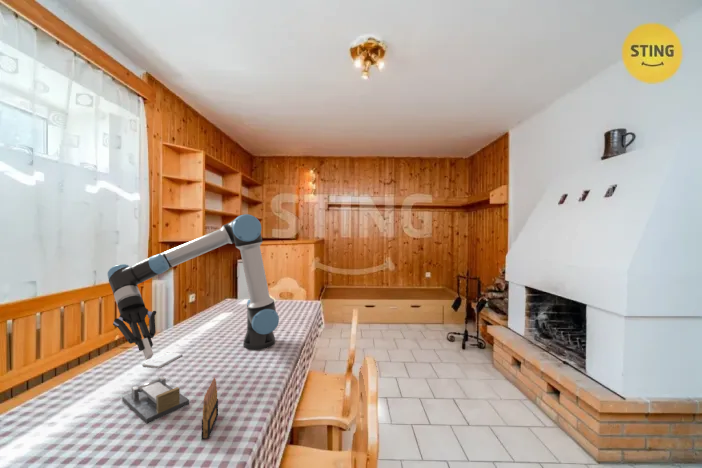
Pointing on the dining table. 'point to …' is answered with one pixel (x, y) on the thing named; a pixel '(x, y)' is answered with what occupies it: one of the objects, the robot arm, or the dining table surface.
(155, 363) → the external hard drive
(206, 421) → the ammunition clip
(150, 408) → the latch board
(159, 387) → the strap
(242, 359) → the dining table surface
